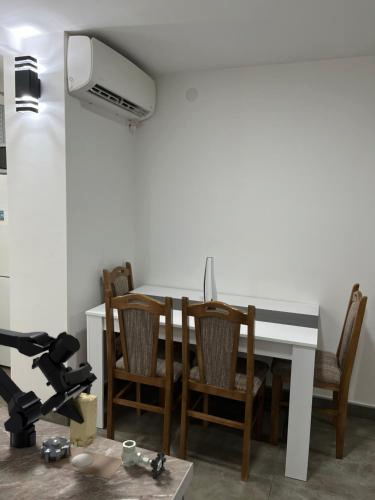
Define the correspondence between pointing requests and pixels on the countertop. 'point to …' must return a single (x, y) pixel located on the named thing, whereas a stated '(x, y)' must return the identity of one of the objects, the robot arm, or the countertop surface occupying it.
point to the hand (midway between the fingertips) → (88, 418)
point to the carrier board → (88, 463)
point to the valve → (141, 458)
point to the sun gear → (55, 449)
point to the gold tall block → (87, 430)
